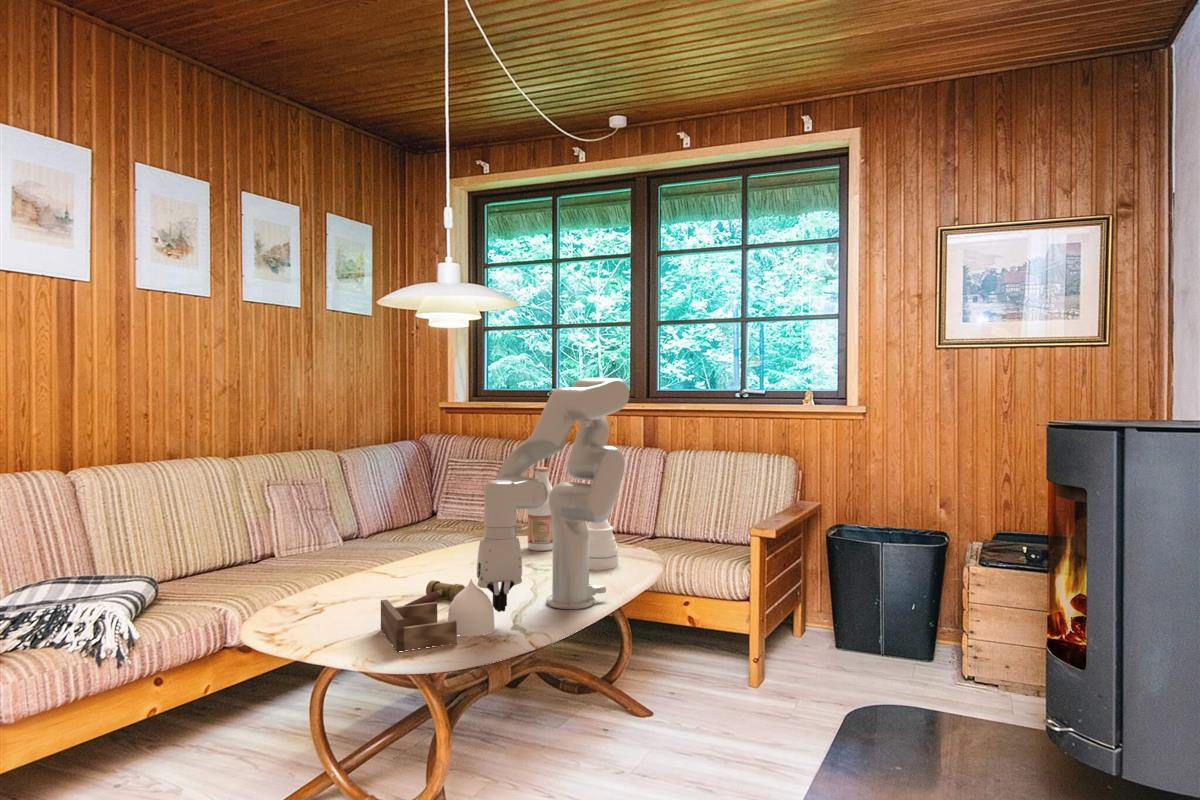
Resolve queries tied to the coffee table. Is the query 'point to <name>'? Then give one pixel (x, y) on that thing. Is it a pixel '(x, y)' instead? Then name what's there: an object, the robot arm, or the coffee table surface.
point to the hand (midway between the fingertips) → (499, 610)
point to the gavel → (438, 592)
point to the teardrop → (472, 612)
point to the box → (415, 626)
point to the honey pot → (602, 546)
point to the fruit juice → (541, 518)
